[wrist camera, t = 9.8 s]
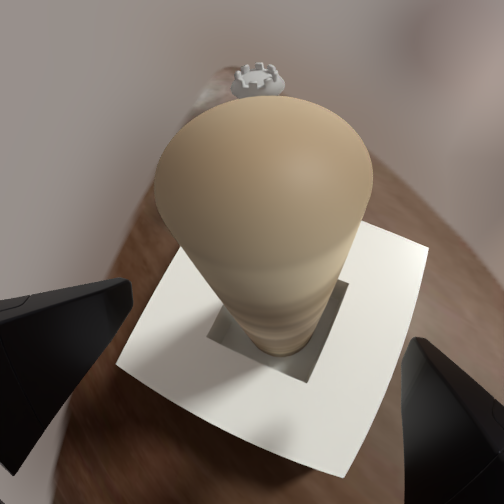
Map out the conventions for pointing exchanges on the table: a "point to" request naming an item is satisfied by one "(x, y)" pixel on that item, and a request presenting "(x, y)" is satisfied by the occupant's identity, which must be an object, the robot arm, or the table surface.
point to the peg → (267, 210)
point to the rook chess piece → (257, 82)
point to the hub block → (290, 367)
